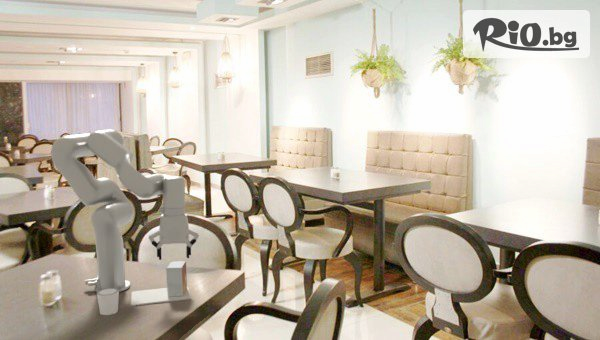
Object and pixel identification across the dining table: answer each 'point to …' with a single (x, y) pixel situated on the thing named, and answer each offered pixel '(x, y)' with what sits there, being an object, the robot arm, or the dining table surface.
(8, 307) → the dining table surface
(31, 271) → the dining table surface
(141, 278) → the dining table surface
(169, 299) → the mat
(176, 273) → the small box
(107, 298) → the shot glass
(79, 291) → the dining table surface
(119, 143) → the robot arm
